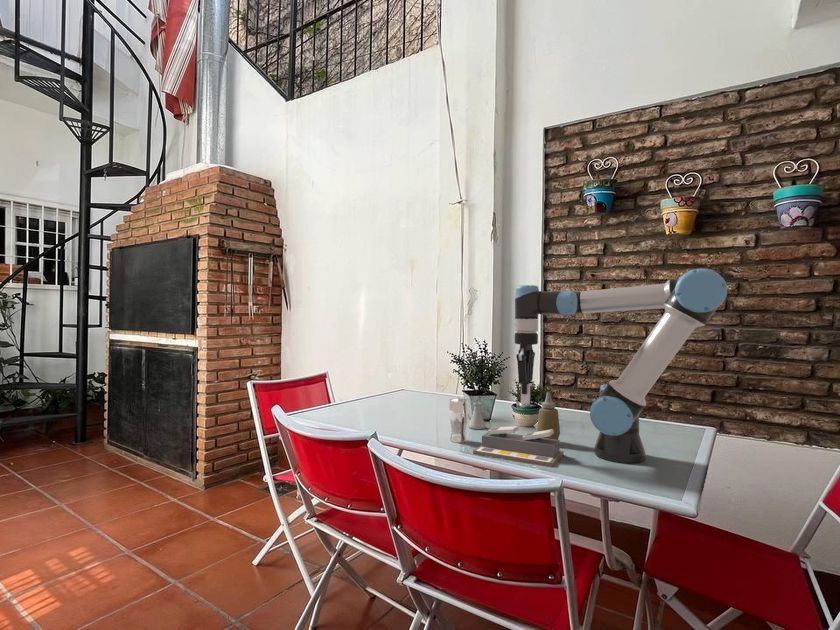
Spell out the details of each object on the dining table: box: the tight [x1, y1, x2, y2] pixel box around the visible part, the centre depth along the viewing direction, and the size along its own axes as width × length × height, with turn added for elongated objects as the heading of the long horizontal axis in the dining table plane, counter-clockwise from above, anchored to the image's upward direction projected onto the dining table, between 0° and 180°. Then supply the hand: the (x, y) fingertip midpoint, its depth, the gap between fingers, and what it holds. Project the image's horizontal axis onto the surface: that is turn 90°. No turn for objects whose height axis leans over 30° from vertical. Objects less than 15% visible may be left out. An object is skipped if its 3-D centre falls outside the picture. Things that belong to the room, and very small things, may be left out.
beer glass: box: [448, 397, 469, 444], centre depth 167 cm, size 7×7×15 cm
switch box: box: [472, 432, 565, 468], centre depth 151 cm, size 26×14×6 cm, turn 60°
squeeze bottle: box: [536, 392, 561, 440], centre depth 165 cm, size 8×8×18 cm
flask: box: [468, 402, 487, 430], centre depth 187 cm, size 7×7×10 cm
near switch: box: [522, 429, 554, 440], centre depth 150 cm, size 9×5×1 cm, turn 60°
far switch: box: [487, 425, 519, 434], centre depth 156 cm, size 9×5×1 cm, turn 60°
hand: (525, 403), depth 152 cm, fingers closed
